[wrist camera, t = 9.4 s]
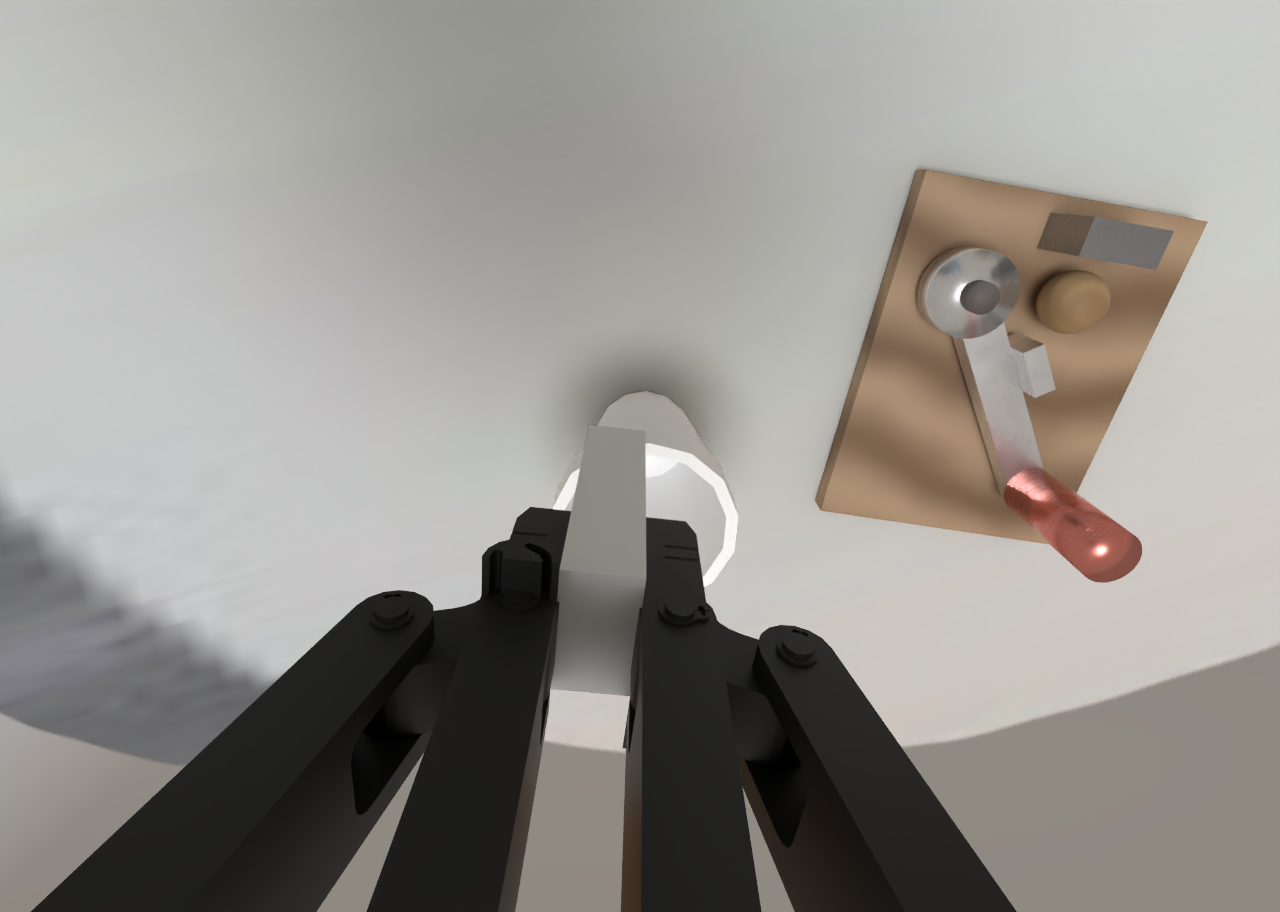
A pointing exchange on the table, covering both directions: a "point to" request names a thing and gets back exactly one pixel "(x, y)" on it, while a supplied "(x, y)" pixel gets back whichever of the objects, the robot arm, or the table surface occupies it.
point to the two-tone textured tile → (1105, 240)
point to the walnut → (1073, 302)
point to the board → (932, 374)
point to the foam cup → (673, 476)
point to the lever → (1018, 412)
